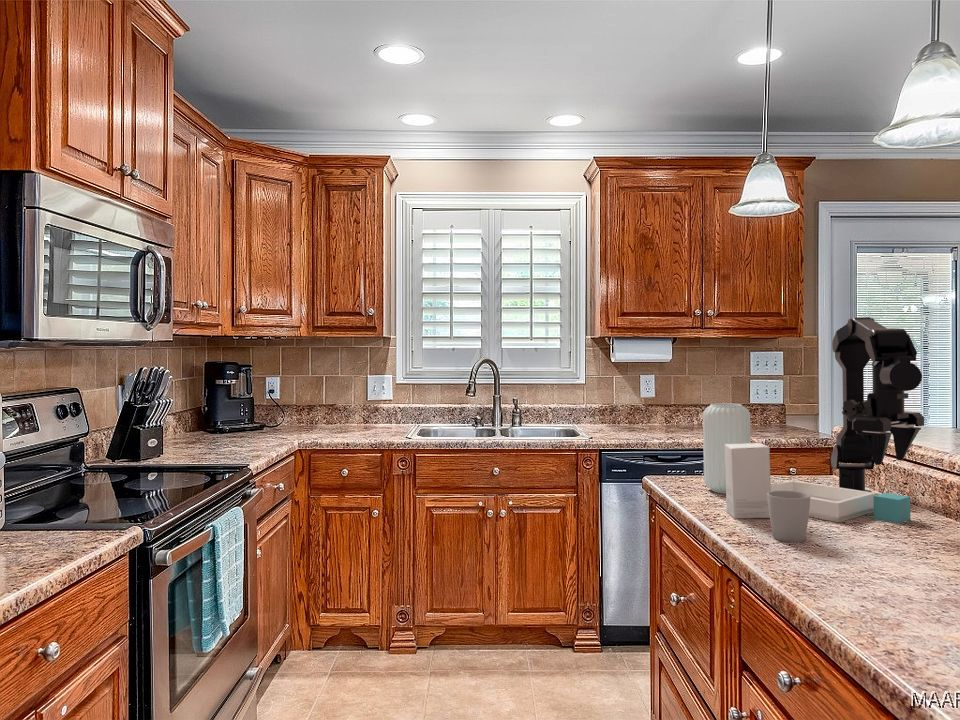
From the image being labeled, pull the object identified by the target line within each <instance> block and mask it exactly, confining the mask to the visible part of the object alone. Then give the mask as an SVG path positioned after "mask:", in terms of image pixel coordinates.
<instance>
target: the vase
mask: <svg viewBox="0 0 960 720" xmlns="http://www.w3.org/2000/svg"><path fill="white" fill-rule="evenodd" d="M702 438H703V439H702V440H703V441H702V444H703V447H702V448H703V481H704V484H705V486H706V487H707V488H709V490H711V491H712V492H715V493H718V494H725V495H726V470H725V444H747V443H752V442H751V440H752V439H751V412H750V411H749V409H748V408H746V407H745V406H743V404H740V403H711V404H710V405H708V406H707V407H705V409H704V411H703V412H702Z"/></svg>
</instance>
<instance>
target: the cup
mask: <svg viewBox="0 0 960 720" xmlns="http://www.w3.org/2000/svg"><path fill="white" fill-rule="evenodd" d="M767 498H768V506H769V514H770V518H769V521H770V525H771V531H772V537H773V538H774V539H775V540H777V541H781V542H785V543H801V542H802V543H803V542H804V541H805V540H806V538H807V531H808V523H809V518H810V517H809V507H810V495H809V494H806V493H802V492H796V491H771V492H768V493H767Z"/></svg>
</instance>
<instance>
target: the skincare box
mask: <svg viewBox="0 0 960 720" xmlns="http://www.w3.org/2000/svg"><path fill="white" fill-rule="evenodd" d="M770 450H771V448H770V446H768V445H765V444H763V443H761V442H755V443H753V442H751V443H747V444H725V470H726V494H725V495H726V497H725V498H726V513H727V514H728V515H730V516H731V517H732V518H733V519H734V520H736V519H770V514H769V506H768V498H767V493H768V492H771V458H770V457H771V456H770V453H771V451H770Z"/></svg>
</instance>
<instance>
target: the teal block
mask: <svg viewBox="0 0 960 720" xmlns="http://www.w3.org/2000/svg"><path fill="white" fill-rule="evenodd" d="M873 501H874V512H873V520H877V521H881V522H882V521H883V522H888V523H893V524H902V523H905V522H908V521H911V496H909V495H903V494H902V495H901V494H895V493H890V492H889V493H888V492H884V493H879V494H876V495H875V496H873Z"/></svg>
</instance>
